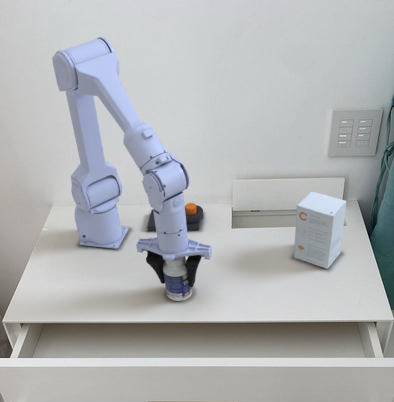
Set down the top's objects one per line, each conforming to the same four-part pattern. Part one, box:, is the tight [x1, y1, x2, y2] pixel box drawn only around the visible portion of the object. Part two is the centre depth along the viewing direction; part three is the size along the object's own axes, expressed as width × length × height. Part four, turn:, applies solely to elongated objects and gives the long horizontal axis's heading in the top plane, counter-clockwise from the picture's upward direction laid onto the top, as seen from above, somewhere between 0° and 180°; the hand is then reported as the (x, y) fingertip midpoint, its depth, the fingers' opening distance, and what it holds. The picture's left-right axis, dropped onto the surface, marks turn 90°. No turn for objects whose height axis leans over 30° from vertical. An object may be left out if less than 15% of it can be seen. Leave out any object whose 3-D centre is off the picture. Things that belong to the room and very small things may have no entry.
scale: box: [147, 204, 204, 232], centre depth 134 cm, size 13×7×3 cm, turn 85°
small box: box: [293, 190, 348, 270], centre depth 118 cm, size 8×6×13 cm
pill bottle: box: [163, 256, 193, 302], centre depth 114 cm, size 5×5×10 cm
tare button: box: [185, 202, 197, 215], centre depth 132 cm, size 3×3×2 cm
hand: (177, 282), depth 115 cm, fingers closed on pill bottle, 5 cm apart
